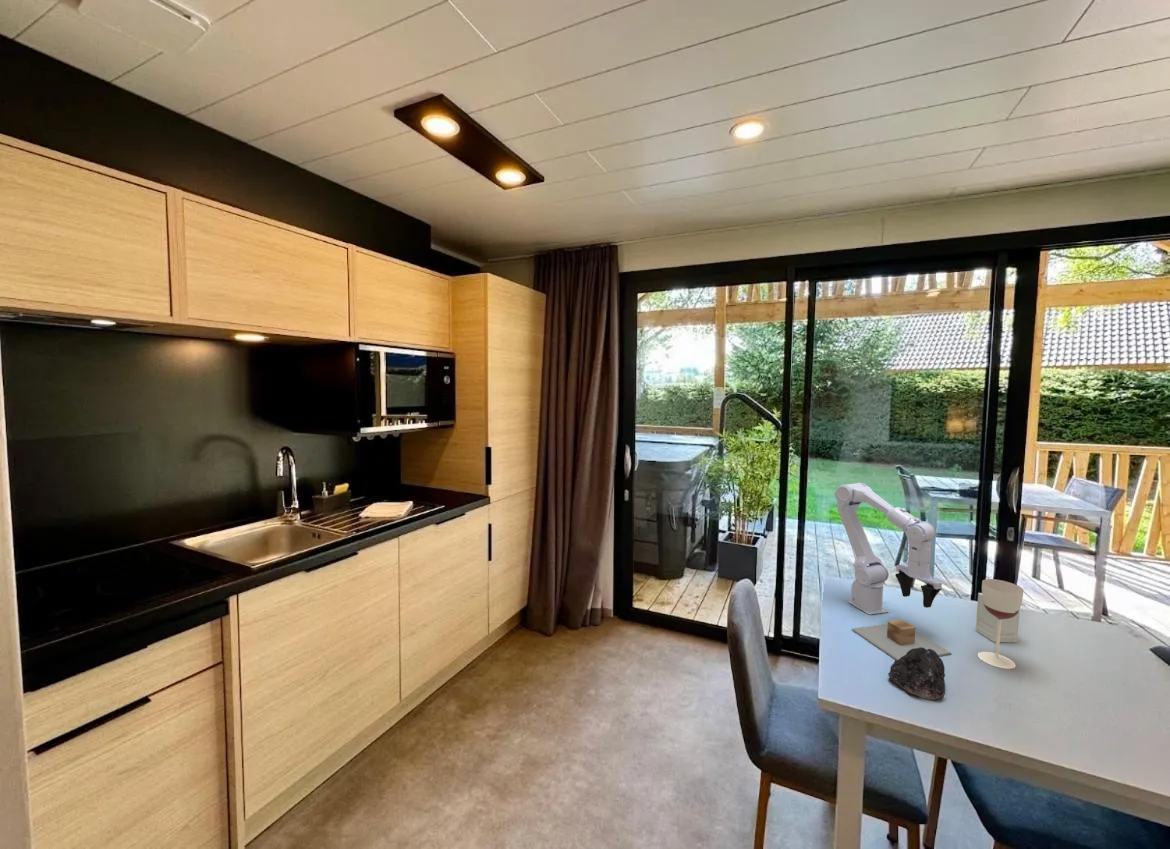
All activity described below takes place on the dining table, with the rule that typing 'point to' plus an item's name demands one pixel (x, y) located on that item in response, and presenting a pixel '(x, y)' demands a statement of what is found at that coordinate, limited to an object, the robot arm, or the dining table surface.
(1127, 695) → the dining table surface
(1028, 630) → the dining table surface
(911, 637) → the walnut cube
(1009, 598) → the wineglass
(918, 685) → the dark grey rock
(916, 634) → the grey mat
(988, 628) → the supplement box
